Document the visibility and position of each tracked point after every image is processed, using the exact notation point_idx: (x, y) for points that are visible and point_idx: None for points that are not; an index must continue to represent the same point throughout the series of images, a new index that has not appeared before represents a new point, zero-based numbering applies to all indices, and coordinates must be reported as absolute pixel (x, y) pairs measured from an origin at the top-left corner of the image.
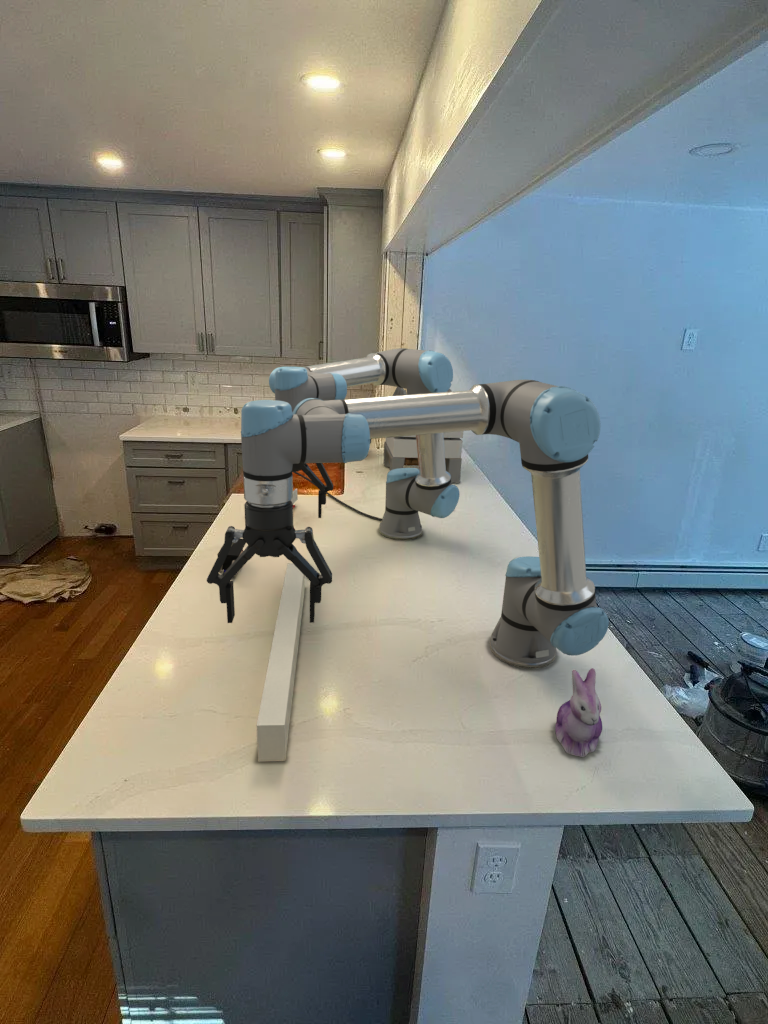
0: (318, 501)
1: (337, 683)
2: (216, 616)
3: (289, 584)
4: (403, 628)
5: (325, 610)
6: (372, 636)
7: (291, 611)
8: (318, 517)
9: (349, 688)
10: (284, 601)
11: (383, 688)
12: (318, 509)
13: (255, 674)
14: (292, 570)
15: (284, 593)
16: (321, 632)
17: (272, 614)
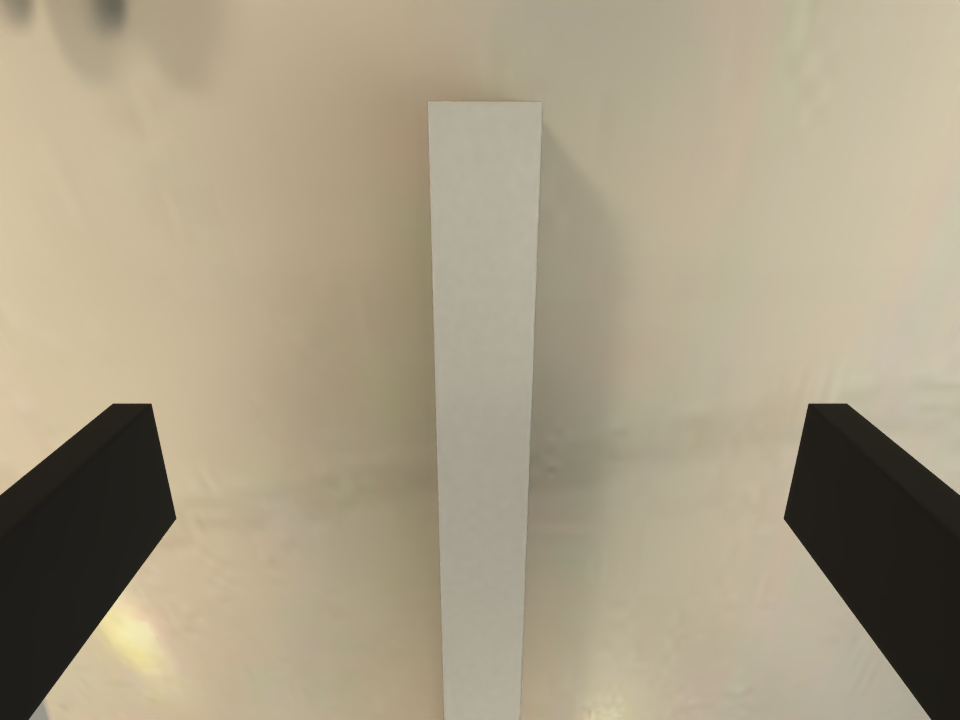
0: (920, 701)
1: (628, 697)
2: (171, 367)
3: (466, 384)
4: (913, 455)
5: (623, 322)
6: (780, 501)
7: (494, 606)
8: (789, 525)
9: (658, 713)
10: (457, 535)
11: (749, 715)
12: (844, 597)
13: (400, 664)
14: (469, 213)
15: (450, 471)
16: (597, 476)
17: (398, 353)
